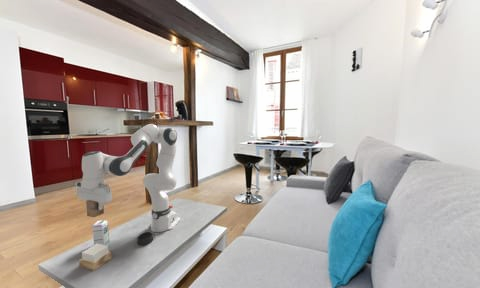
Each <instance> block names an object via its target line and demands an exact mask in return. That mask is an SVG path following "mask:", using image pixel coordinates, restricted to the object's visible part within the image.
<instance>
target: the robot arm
mask: <svg viewBox="0 0 480 288" xmlns="http://www.w3.org/2000/svg"><path fill="white" fill-rule="evenodd" d="M177 140H178V133H177V131H176V129H174V128H171V127H162V128H159V127H158V126H157V125H156V124H154V123H149V124H146V125H143V126H142V127H141V128H139V129H138V130H136V131H135V132H134V133H133V134H132V135H131V137H130V142H131V144H132V146H133V147H131V149H130V150H129V151H128V152H127V153H126V154H124V155H122V156H117V155H116V156H115V155H109V154H106V153H103V152H101V151H100V150H93V151H89V152H86V153H84V154H83V155H82V159H81V171H82V180H79V181H76V182H75V187H76V196H77V199H78V200H81V201H82V200H83V201H85V202H86V201H88V200H89V201H95V202H98V204H99V206H98V207H97V210H102V209H103V206H104V204H107V203H110V202H112V201H113V193H112V190H111V186H109V184H107V183H105V174H109V175H110V174H112V175H114V176H118V177H123V176H125V175H127V174H128V173H130V172H131V170H132V168H133V166H134V164H135V163H136V162H137V160H139V158H141V156H142V155H143V154H144V153H145V151H146V150H147V149H148V146H149V145H150V144H151V143H154V144H160V146H161V147H160V150H159V153H158V156H157V160H156V162H155V163H156V164H155V165H156V167H157V168H158V169H159V173H155V172H153V173H147V174H145V175H144V176H143V179H142V184H143V186H144V187H145V188H146V190H147V191H148V193H149V195H150V198H151V200H150V201H151V208H152V209H151V219H150V220H151V221H150V232H152V233H162V232H165V231H170V230H173V229H174V228H175V227H176V225H177V224H178V223H179V222H180V221H181V217H180V216H178V214H177V212H175V210H172V209H173V207H174V206H173V205H171V204H170V202H169V201H170V200H169V196H168V194H167V193H166V192H168V191H173V190H174V189H175V187H176V186H177V179H176V177H175V176H174V173H173V165H174V161H175V157H176V151H177V145H176V142H177ZM165 191H166V192H165ZM169 204H170V205H169Z"/></svg>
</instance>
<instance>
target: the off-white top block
mask: <svg viewBox="0 0 480 288" xmlns="http://www.w3.org/2000/svg"><path fill="white" fill-rule="evenodd" d="M109 251H110V250H109V246H108V244H107V245H102V244H95V245H94V244H93V245H92V246H91V247H89V248H87V249H86V250H84V251H82V252H81V259H82V260H85V261H89V262H93V263H94V262H96V261H97V260H99V259H100V258H102V257H103V256H104V255H106V254H107V253H109Z"/></svg>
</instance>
